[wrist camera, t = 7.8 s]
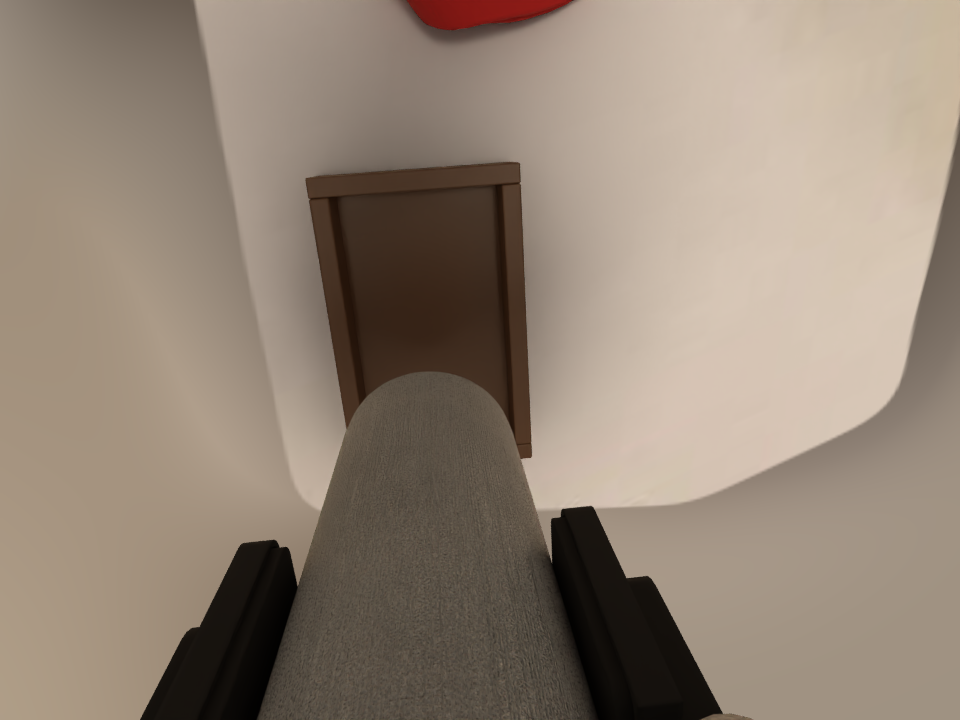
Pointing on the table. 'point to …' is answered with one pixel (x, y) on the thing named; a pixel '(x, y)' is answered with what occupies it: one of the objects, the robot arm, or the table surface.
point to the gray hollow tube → (428, 575)
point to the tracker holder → (479, 11)
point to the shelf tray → (426, 280)
